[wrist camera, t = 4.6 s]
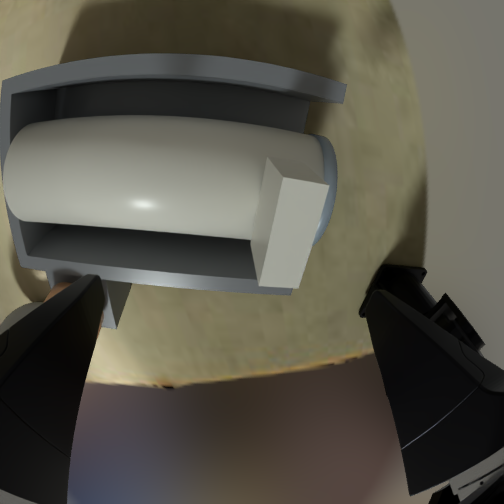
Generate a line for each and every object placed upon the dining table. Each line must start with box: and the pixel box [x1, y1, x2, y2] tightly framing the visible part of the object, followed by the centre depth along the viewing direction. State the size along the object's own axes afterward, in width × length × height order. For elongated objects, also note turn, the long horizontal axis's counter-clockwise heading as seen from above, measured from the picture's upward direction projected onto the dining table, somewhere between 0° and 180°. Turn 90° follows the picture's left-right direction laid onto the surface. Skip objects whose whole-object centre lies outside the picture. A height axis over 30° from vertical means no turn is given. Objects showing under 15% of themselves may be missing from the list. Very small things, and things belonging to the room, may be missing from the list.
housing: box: [0, 53, 347, 329], centre depth 15 cm, size 18×18×6 cm
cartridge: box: [3, 115, 337, 288], centre depth 12 cm, size 17×6×9 cm, turn 80°
